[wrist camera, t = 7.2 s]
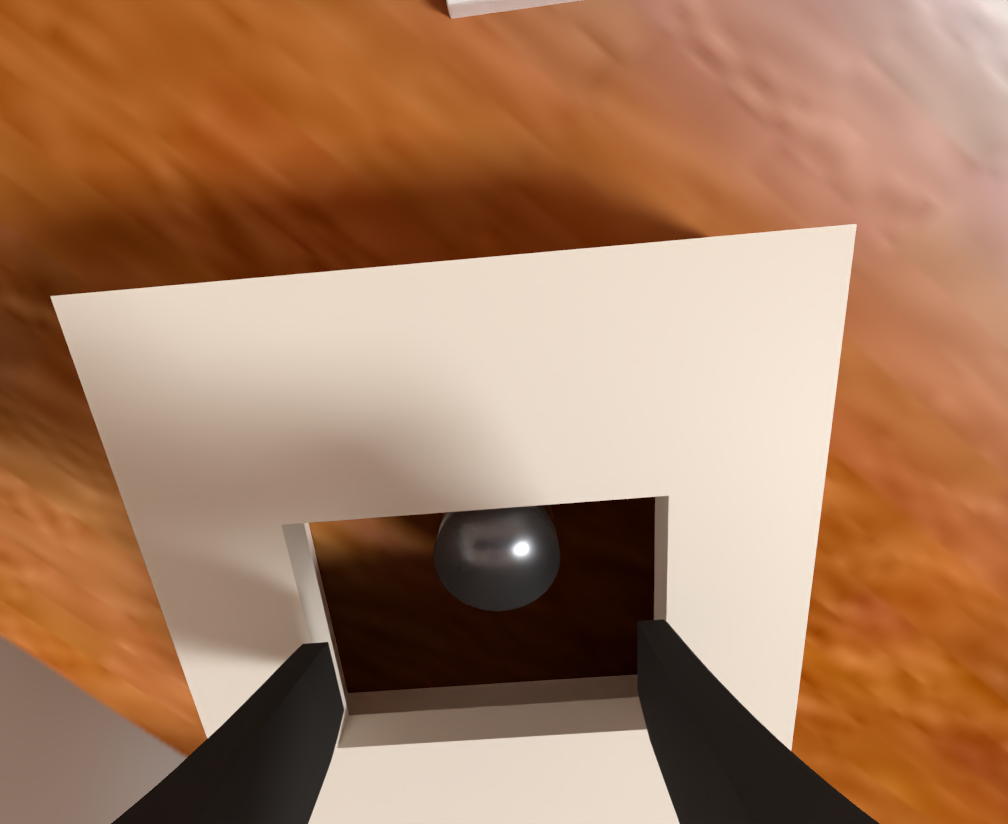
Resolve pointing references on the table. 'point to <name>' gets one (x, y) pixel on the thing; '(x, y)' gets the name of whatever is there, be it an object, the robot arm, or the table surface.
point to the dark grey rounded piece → (498, 555)
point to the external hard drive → (493, 6)
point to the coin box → (481, 482)
